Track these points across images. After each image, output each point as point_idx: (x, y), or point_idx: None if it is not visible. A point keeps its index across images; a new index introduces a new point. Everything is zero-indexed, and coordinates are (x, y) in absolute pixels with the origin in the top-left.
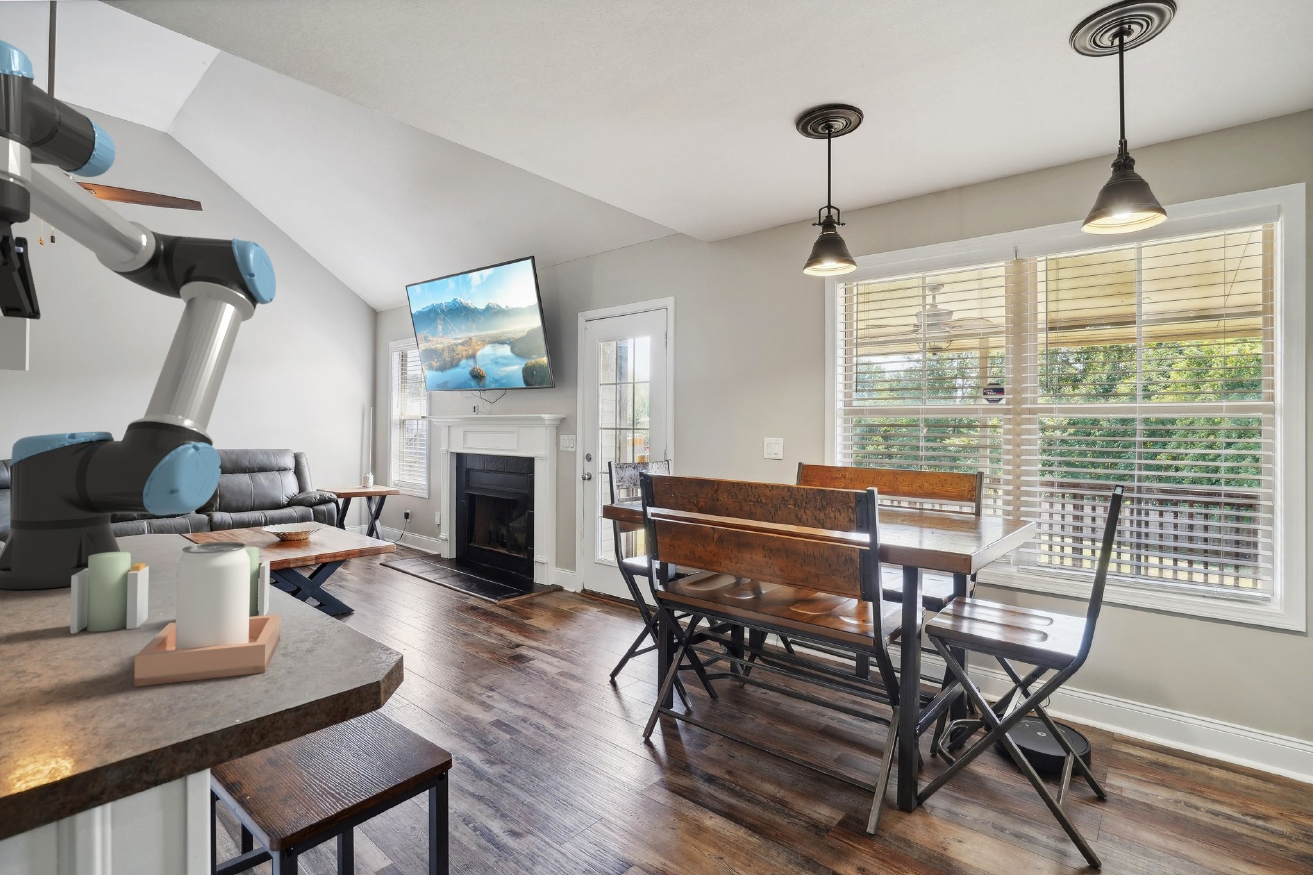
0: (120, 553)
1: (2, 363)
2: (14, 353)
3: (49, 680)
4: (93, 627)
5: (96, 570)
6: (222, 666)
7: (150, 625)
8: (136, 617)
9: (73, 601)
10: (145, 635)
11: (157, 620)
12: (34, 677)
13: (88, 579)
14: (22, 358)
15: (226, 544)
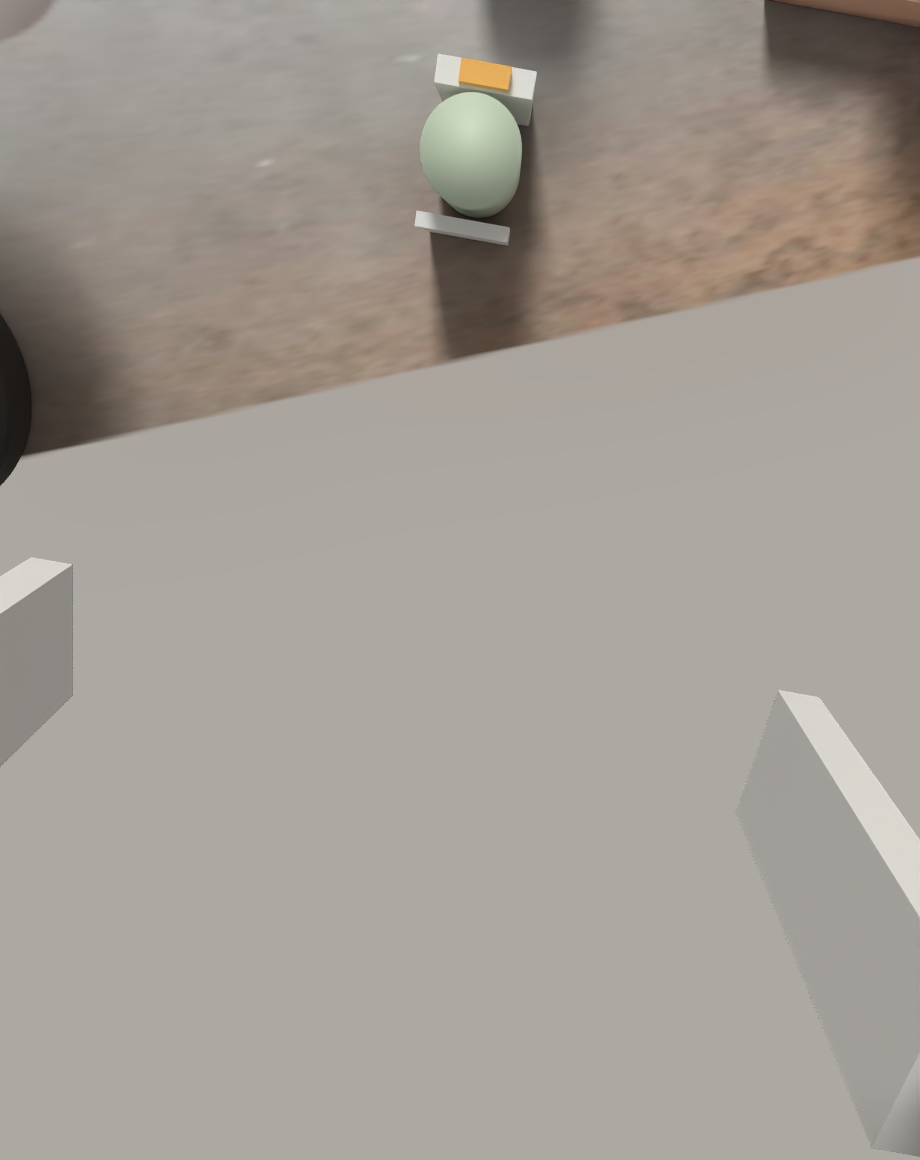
0: (454, 123)
1: (53, 688)
2: (12, 667)
3: (846, 216)
4: (511, 199)
5: (514, 181)
6: None
7: None
8: (533, 98)
9: (508, 238)
10: (608, 72)
11: None
12: (808, 247)
13: (489, 207)
14: (31, 611)
15: None
